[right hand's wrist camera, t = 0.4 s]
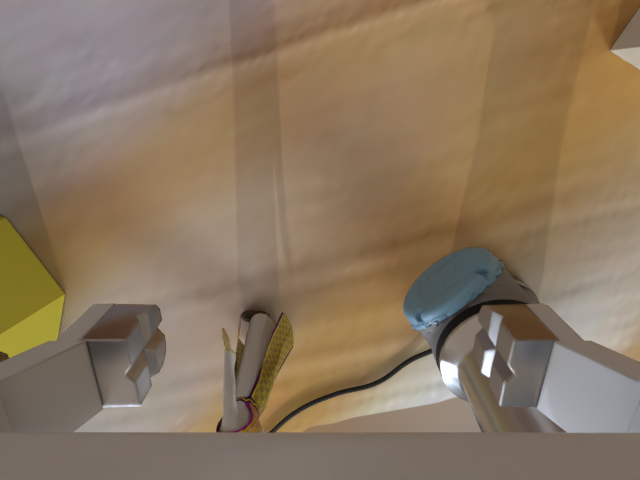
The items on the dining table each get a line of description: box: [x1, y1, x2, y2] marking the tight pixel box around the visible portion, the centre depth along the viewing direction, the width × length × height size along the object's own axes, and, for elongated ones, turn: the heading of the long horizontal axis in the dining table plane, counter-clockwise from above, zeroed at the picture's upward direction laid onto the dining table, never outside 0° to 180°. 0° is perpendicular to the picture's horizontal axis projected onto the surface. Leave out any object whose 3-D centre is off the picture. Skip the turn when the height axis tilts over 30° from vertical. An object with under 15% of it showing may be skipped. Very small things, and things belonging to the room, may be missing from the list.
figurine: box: [216, 311, 293, 433], centre depth 51 cm, size 19×9×30 cm, turn 13°
